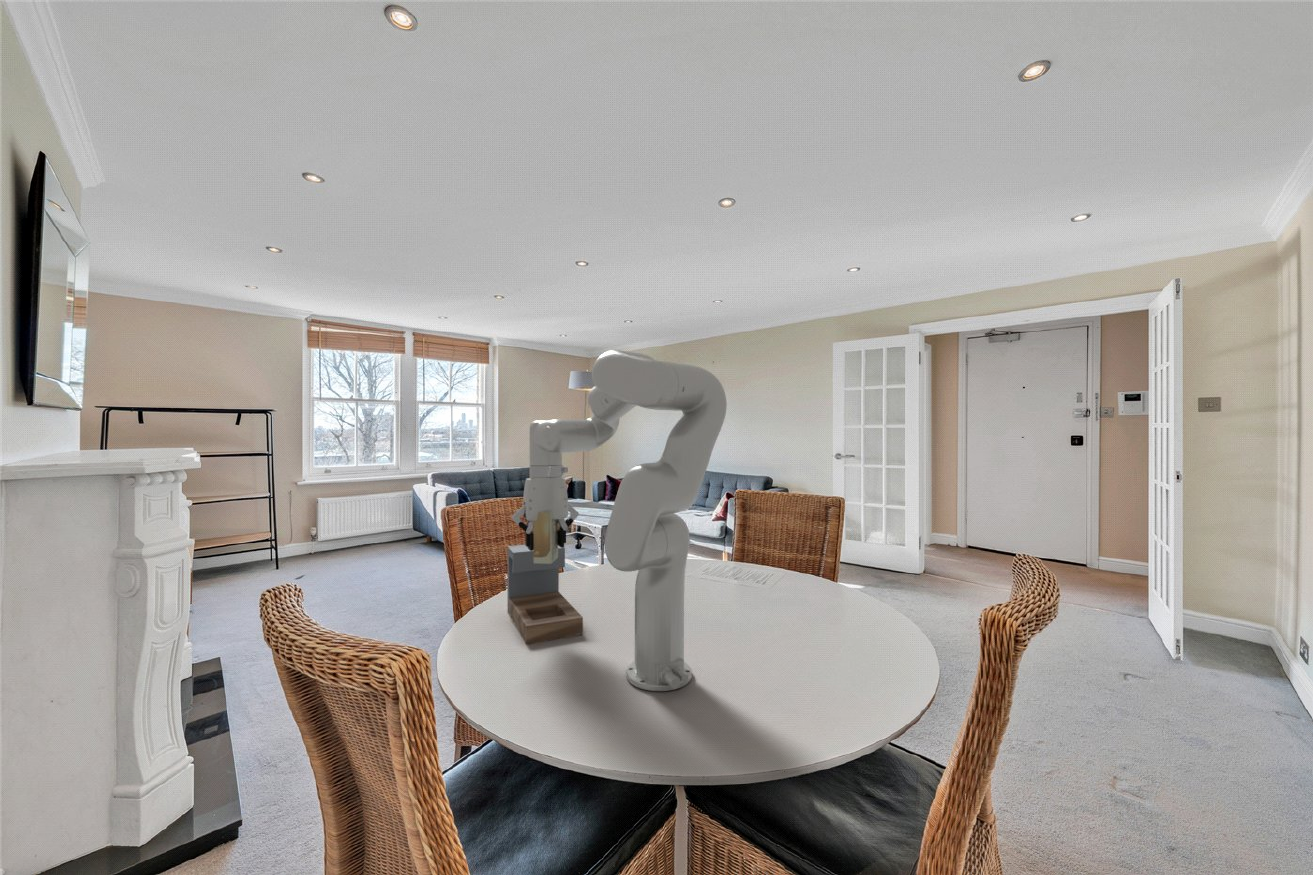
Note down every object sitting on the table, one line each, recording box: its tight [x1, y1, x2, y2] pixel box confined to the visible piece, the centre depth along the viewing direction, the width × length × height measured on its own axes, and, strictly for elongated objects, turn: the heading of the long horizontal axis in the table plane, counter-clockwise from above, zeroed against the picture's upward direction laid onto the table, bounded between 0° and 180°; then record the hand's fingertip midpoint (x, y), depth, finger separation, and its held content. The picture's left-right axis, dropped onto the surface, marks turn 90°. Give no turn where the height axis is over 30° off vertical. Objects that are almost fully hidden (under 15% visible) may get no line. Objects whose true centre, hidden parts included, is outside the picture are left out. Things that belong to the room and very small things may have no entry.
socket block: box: [508, 591, 584, 645], centre depth 129 cm, size 21×13×4 cm, turn 26°
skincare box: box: [532, 511, 559, 564], centre depth 125 cm, size 6×4×12 cm
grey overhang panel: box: [506, 544, 566, 614], centre depth 136 cm, size 8×13×17 cm, turn 116°
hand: (545, 547), depth 125 cm, fingers closed on skincare box, 6 cm apart
